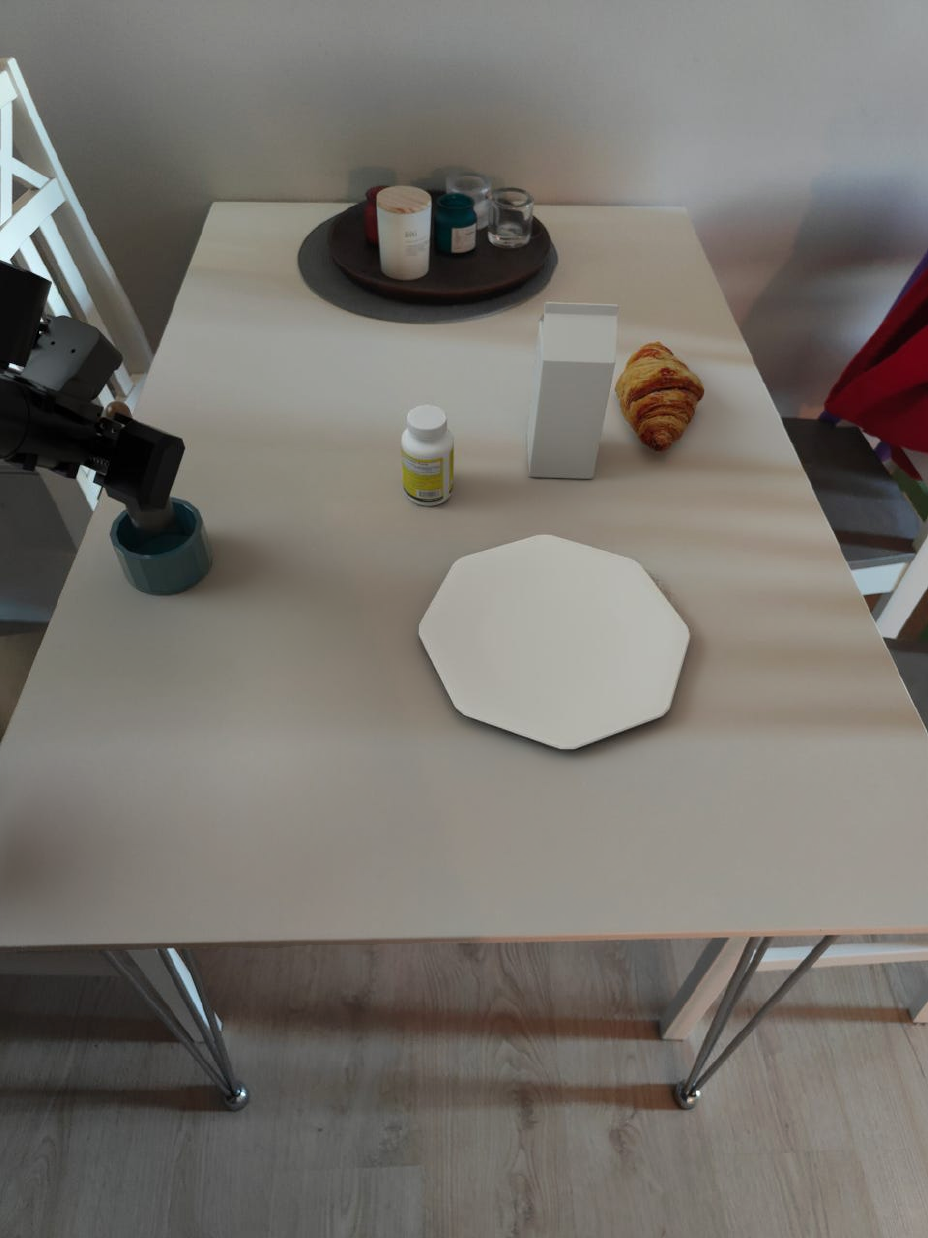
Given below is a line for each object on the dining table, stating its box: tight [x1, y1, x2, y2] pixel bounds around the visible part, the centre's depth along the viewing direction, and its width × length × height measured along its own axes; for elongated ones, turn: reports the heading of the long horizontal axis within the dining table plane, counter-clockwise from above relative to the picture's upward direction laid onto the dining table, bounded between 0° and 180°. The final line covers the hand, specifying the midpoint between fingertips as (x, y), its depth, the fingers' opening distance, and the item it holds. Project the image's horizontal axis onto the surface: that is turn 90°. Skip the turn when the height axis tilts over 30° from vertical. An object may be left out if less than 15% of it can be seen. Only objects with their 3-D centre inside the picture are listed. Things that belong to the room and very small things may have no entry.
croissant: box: [614, 340, 705, 452], centre depth 101 cm, size 21×10×8 cm, turn 175°
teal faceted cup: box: [109, 496, 213, 596], centre depth 82 cm, size 8×8×5 cm
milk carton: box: [526, 301, 620, 480], centre depth 89 cm, size 7×7×19 cm
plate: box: [418, 534, 691, 751], centre depth 79 cm, size 24×24×2 cm
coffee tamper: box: [104, 400, 176, 534], centre depth 75 cm, size 4×4×13 cm
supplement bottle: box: [400, 404, 455, 507], centre depth 88 cm, size 5×5×10 cm
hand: (145, 454), depth 75 cm, fingers closed on coffee tamper, 2 cm apart
